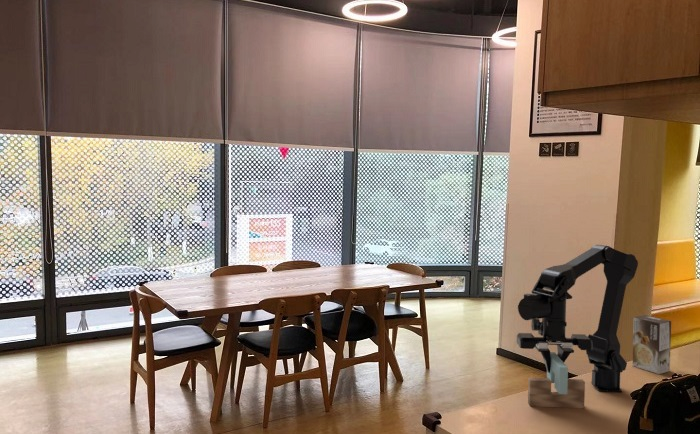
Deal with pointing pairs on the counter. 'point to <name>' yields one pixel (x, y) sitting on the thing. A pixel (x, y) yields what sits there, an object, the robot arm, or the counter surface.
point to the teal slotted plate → (558, 373)
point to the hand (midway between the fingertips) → (553, 372)
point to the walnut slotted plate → (555, 393)
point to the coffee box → (651, 343)
